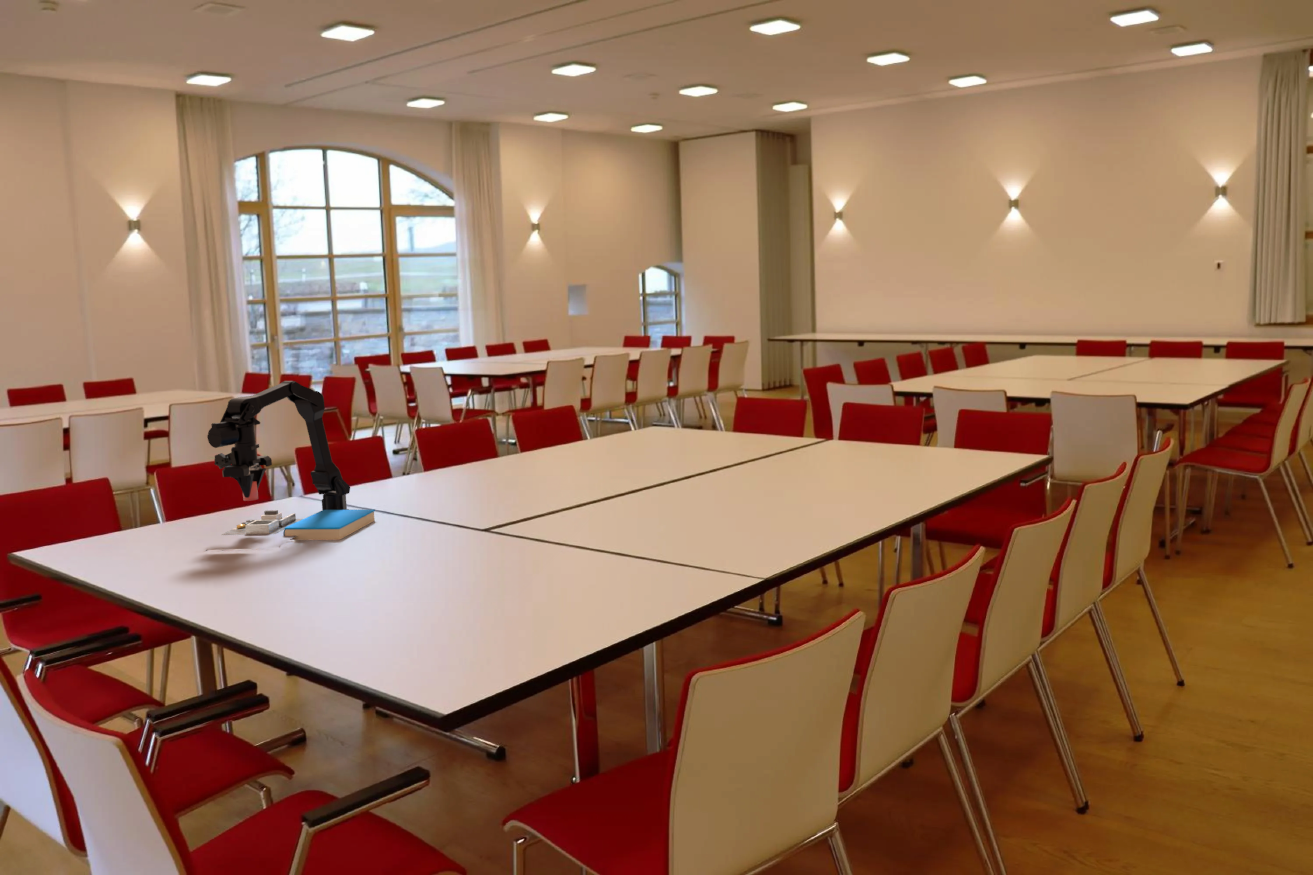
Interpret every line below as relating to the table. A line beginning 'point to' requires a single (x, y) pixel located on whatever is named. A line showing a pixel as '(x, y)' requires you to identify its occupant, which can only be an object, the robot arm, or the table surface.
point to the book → (329, 524)
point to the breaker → (271, 515)
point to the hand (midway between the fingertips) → (250, 495)
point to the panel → (263, 526)
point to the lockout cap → (252, 492)
